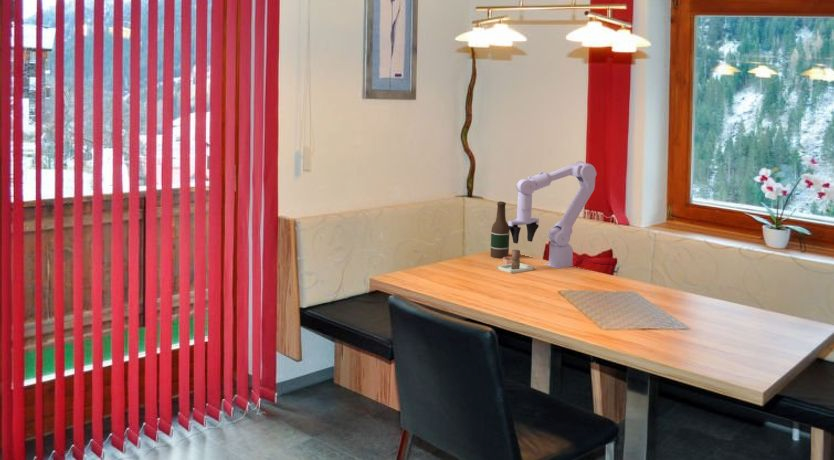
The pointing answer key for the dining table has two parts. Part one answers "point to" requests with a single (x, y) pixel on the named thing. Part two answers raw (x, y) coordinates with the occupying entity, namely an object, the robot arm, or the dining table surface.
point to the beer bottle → (500, 234)
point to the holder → (507, 260)
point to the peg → (515, 259)
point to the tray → (521, 269)
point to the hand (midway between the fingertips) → (522, 242)
